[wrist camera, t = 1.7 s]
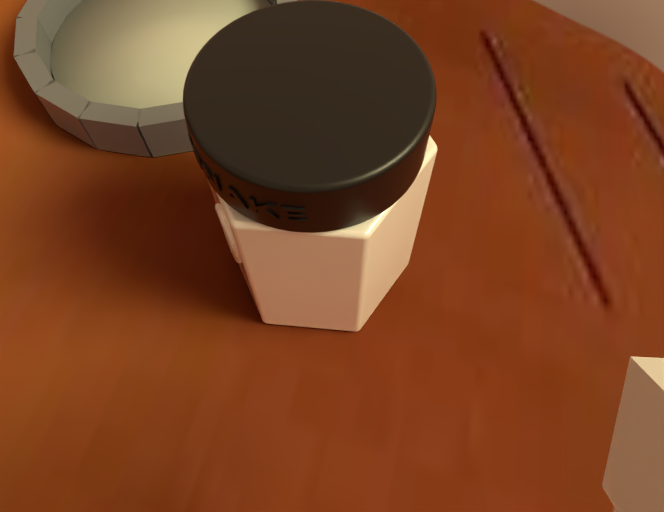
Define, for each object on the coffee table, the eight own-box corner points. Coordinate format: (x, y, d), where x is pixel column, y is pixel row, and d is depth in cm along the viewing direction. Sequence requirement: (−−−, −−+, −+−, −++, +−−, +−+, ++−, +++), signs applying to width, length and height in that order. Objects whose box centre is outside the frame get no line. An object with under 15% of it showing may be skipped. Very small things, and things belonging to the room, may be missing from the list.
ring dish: (-21, 79, 34) (-47, 45, 32) (158, -63, 40) (147, -100, 38) (186, 202, 30) (173, 173, 28) (350, 22, 36) (350, -14, 34)
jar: (214, 216, 29) (144, 31, 19) (353, 164, 31) (362, -36, 20) (277, 368, 26) (234, 244, 15) (432, 300, 27) (494, 143, 16)
